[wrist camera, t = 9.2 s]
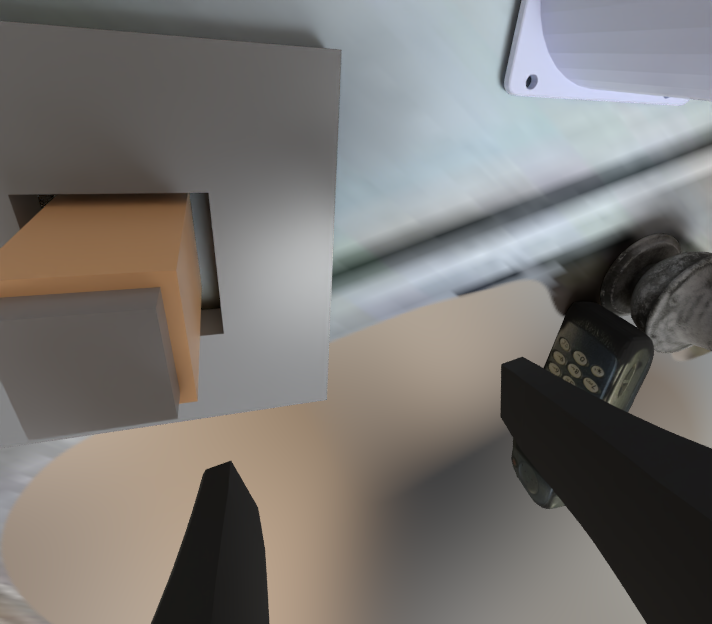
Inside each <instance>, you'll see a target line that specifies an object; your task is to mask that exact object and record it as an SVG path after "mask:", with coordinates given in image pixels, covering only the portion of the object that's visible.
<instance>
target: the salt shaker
mask: <svg viewBox="0 0 712 624" xmlns="http://www.w3.org/2000/svg"><path fill="white" fill-rule="evenodd" d="M600 299H601V305H602V306H603V307H605V308H606V309H608V310H610V311H611V312H613V313H615V314H616V315H618V316H627V315H631V317H632V319H633V321H634V323H635V324H636V326H637V328H638V329H640V330H641V331H642V332H644V333H645V334H646V335H648V336H649V337H650V338H651V339H652V341H653V345H654V350H656V351H657V352H661V353H672V352H678V351H681V350H684V349H686V348H689V347H691V346H693V345H696V346H699V347H702V348H705V349H708V350H710V351H712V253H709V252H684V253H681V248H680V245H679V242H678V241H677V240H676V239H675V238H674V237H672V236H670V235H666V234H653V235H650V236H647V237H644V238H642V239H640V240H639V241H637V242H635V243H634V244H632V245H631V246H630V247H628V248H627V249H626V250H625V251H624V252H623V253H621V255H620V256H619V257H618V258H617V259H616V260H615V262H614V263H613V264H612V266H611V267H610V269H609V270H608V272H607V274H606V275H605V278H604V281H603V283H602V286H601V292H600Z"/></svg>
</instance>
